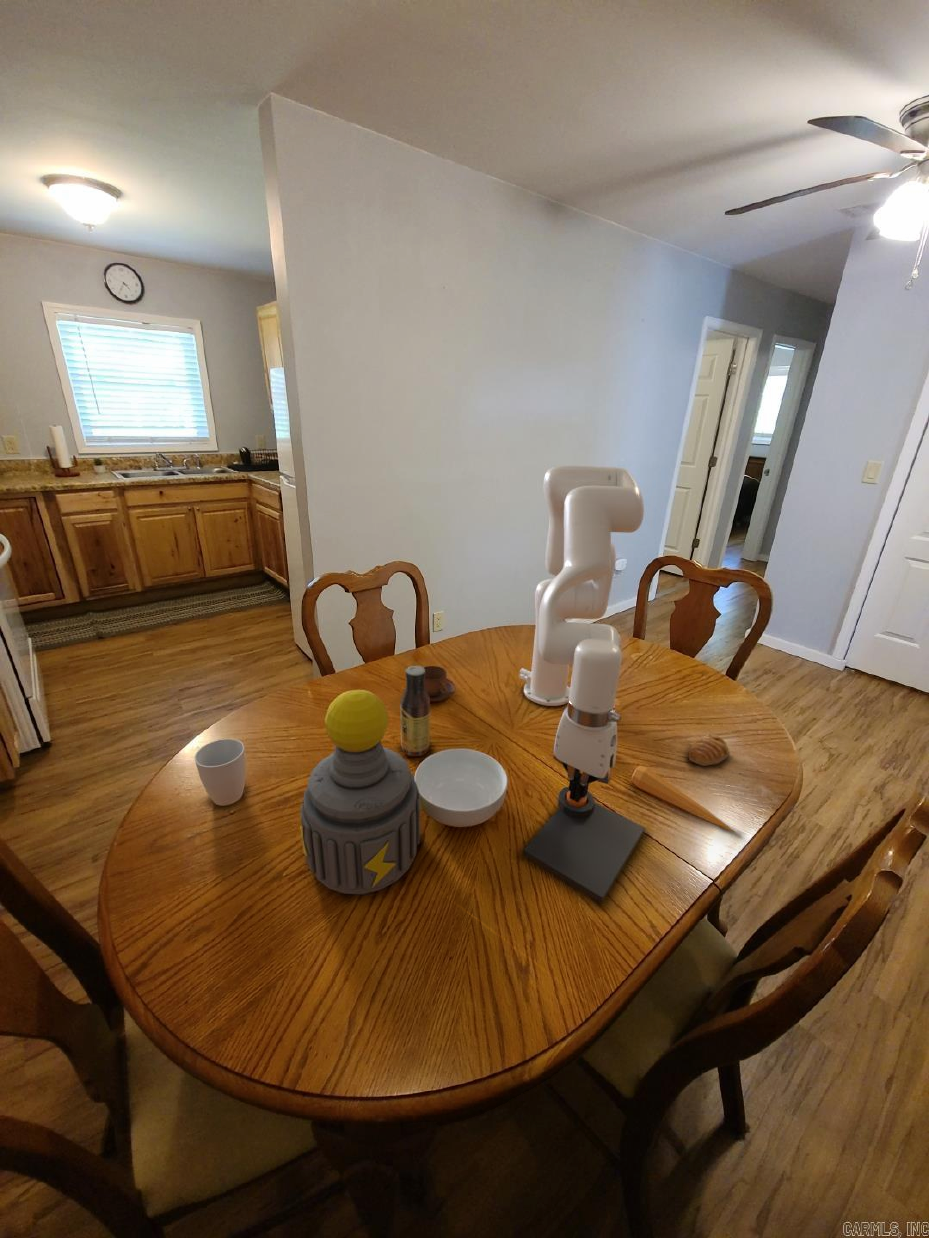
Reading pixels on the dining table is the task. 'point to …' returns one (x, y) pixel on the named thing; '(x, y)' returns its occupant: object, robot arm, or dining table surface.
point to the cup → (222, 770)
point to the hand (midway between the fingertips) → (577, 796)
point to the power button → (579, 804)
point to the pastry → (708, 750)
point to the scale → (585, 845)
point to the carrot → (671, 794)
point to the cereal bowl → (461, 787)
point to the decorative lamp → (360, 802)
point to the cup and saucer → (438, 683)
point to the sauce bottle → (415, 713)
